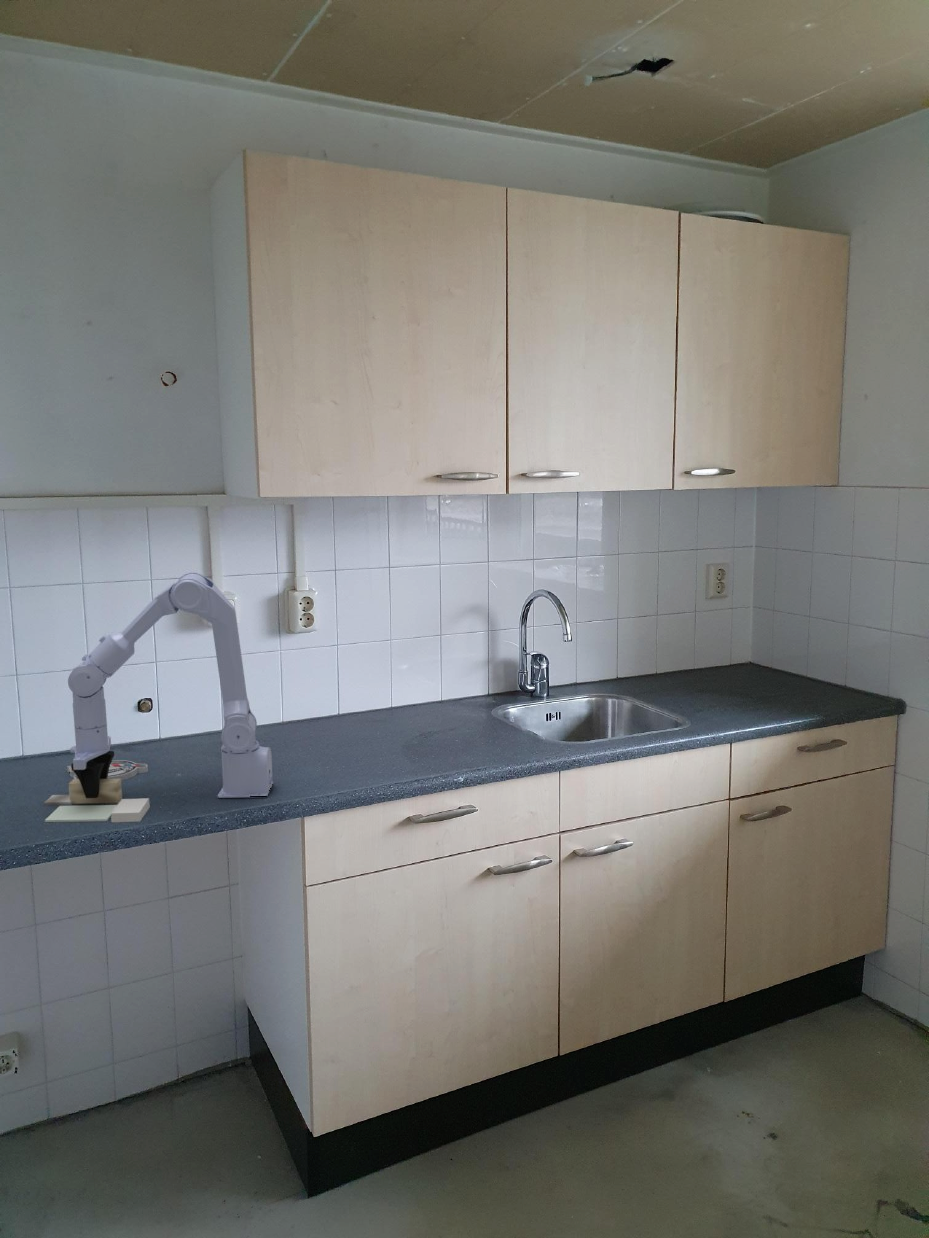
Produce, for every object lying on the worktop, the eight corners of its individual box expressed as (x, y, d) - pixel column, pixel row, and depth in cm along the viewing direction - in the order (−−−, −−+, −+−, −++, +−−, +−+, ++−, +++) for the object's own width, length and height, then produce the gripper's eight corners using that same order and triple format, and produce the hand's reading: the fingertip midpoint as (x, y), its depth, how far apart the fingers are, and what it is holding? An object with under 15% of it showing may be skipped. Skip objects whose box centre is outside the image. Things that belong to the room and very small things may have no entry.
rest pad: (119, 806, 175) (119, 804, 175) (106, 821, 168) (106, 819, 168) (60, 807, 175) (59, 805, 175) (44, 822, 168) (44, 820, 168)
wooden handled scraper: (123, 796, 181) (122, 777, 180) (116, 804, 177) (115, 784, 176) (52, 797, 180) (51, 778, 180) (44, 805, 176) (42, 785, 176)
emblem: (151, 770, 192) (72, 782, 185) (151, 778, 192) (73, 790, 185) (140, 753, 203) (66, 764, 196) (141, 761, 203) (66, 772, 196)
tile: (149, 798, 175) (139, 812, 168) (149, 808, 175) (140, 823, 168) (121, 799, 175) (110, 813, 168) (122, 809, 175) (111, 824, 168)
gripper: (83, 714, 183) (88, 780, 185) (54, 736, 169) (59, 807, 171) (119, 714, 183) (124, 780, 186) (93, 736, 169) (98, 807, 171)
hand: (95, 793), depth 178 cm, fingers open, 3 cm apart
